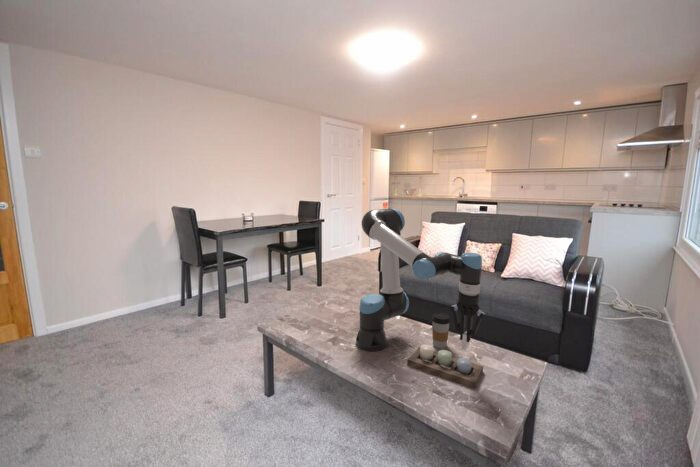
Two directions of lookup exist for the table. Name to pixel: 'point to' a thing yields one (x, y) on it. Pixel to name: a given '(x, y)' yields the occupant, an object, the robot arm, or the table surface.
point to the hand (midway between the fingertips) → (464, 347)
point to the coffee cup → (440, 329)
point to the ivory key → (426, 352)
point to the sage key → (444, 357)
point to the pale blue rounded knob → (464, 366)
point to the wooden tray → (446, 369)
